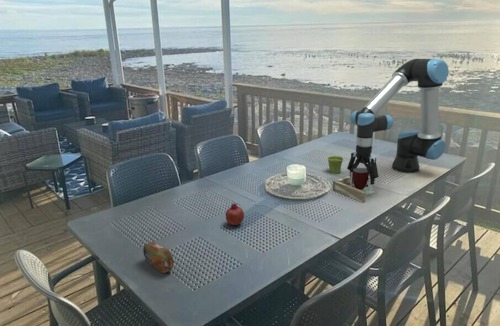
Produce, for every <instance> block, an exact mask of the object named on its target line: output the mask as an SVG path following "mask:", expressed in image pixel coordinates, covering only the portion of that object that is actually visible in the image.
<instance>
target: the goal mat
mask: <svg viewBox="0 0 500 326" xmlns="http://www.w3.org/2000/svg"><path fill="white" fill-rule="evenodd" d="M361 191H364V192H366V196H369V195H372V194H374V193H376V191H374V190H370V191H368V187H365V188H364V189H363V190H361ZM366 196H365V197H366Z"/></svg>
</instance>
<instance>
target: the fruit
mask: <svg viewBox="0 0 500 326" xmlns="http://www.w3.org/2000/svg"><path fill="white" fill-rule="evenodd" d="M244 218H245V212H244V210H243V208H242V207H240V206H238V204H237V203H232V204H231V206H230V207H229V208H228V209H226V211H225V220H226V223H228V224H230V225H233V226H237V225H239V224H241V223H242V222H243V221H244Z"/></svg>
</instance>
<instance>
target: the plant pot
mask: <svg viewBox="0 0 500 326" xmlns="http://www.w3.org/2000/svg"><path fill="white" fill-rule="evenodd" d="M326 159H327V161H328V168H329V169H328V170H329V173H330V174H336V175H337V174H340V173H341V170H342V169H341V168H342V163H343V161H344V157H342V156H338V155H335V156H334V155H332V156H328V157H327V158H326Z"/></svg>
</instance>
